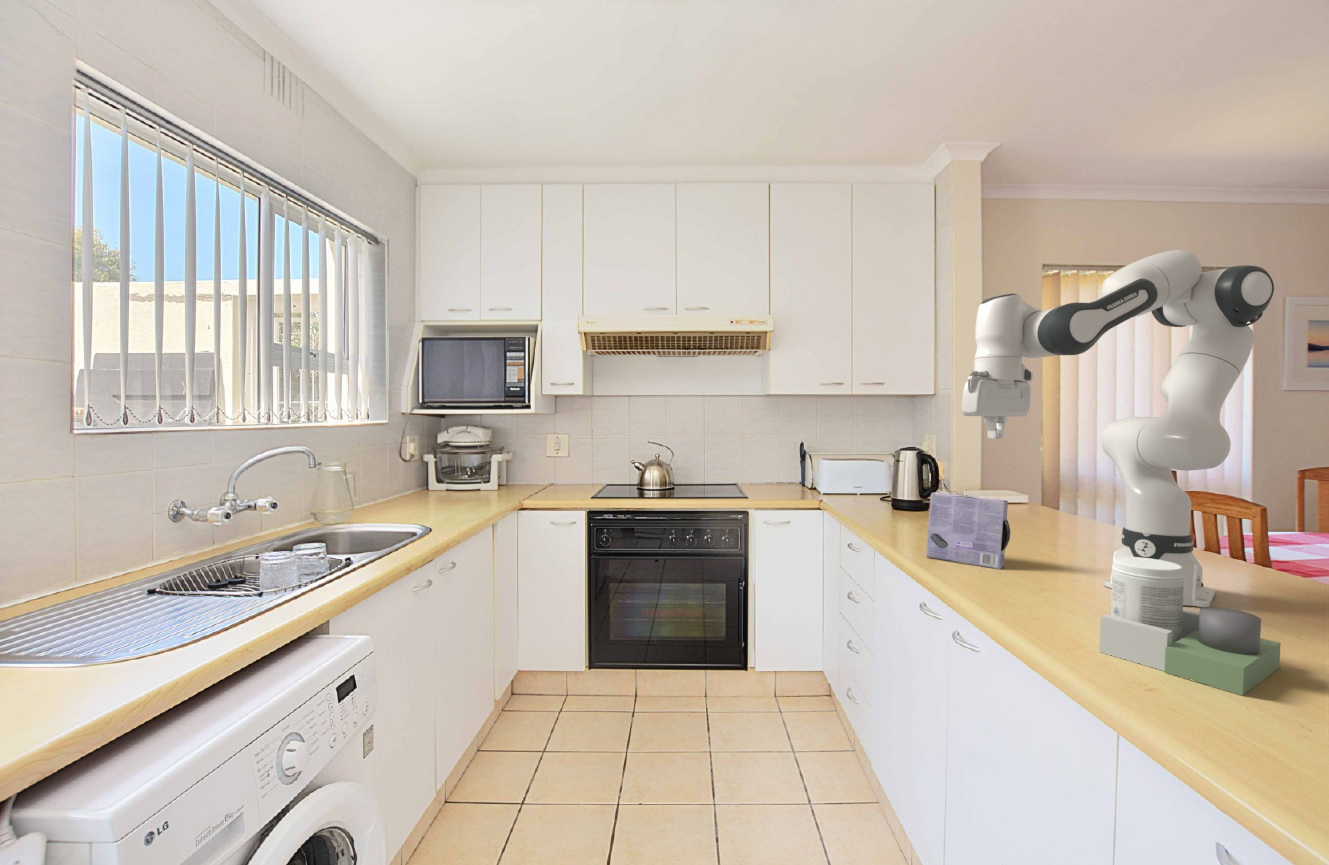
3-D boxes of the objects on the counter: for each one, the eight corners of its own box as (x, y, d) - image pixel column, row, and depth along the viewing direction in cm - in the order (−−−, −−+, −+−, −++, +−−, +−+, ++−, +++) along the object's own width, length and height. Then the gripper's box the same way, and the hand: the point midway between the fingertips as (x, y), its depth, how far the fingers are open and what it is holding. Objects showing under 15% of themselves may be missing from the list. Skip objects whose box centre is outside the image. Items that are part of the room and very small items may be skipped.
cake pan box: (1009, 567, 159) (1012, 498, 158) (1005, 570, 155) (1008, 500, 154) (931, 555, 171) (933, 491, 170) (925, 558, 167) (927, 493, 166)
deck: (1142, 632, 112) (1144, 583, 112) (1279, 667, 97) (1282, 611, 97) (1097, 652, 102) (1100, 599, 102) (1242, 695, 87) (1245, 633, 87)
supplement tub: (1189, 651, 103) (1193, 564, 103) (1170, 665, 98) (1174, 573, 97) (1120, 634, 111) (1124, 553, 111) (1099, 645, 106) (1103, 560, 105)
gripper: (984, 369, 121) (982, 439, 122) (1037, 373, 133) (1034, 438, 133) (954, 370, 127) (952, 438, 127) (1007, 375, 138) (1005, 436, 139)
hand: (995, 438), depth 130 cm, fingers closed
